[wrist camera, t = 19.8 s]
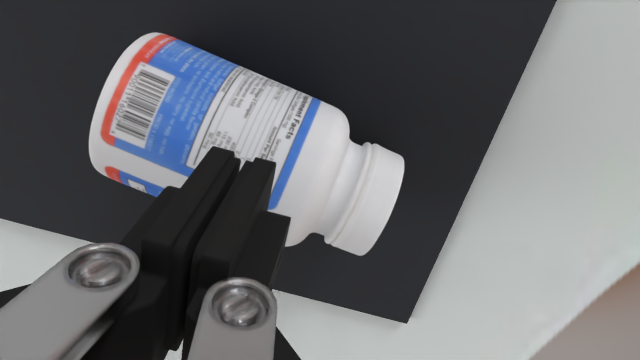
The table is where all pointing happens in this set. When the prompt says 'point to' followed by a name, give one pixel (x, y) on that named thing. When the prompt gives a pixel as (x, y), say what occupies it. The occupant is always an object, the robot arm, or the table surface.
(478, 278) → the table surface
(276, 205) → the pill bottle
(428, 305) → the table surface
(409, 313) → the desk mat
